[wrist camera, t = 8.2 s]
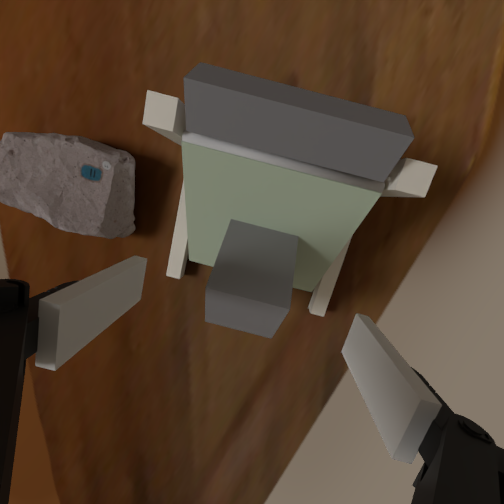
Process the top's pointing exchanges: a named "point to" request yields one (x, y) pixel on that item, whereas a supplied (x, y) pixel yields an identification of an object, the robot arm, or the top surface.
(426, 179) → the stand
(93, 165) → the stone
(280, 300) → the basalt block
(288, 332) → the top surface
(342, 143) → the trapdoor
